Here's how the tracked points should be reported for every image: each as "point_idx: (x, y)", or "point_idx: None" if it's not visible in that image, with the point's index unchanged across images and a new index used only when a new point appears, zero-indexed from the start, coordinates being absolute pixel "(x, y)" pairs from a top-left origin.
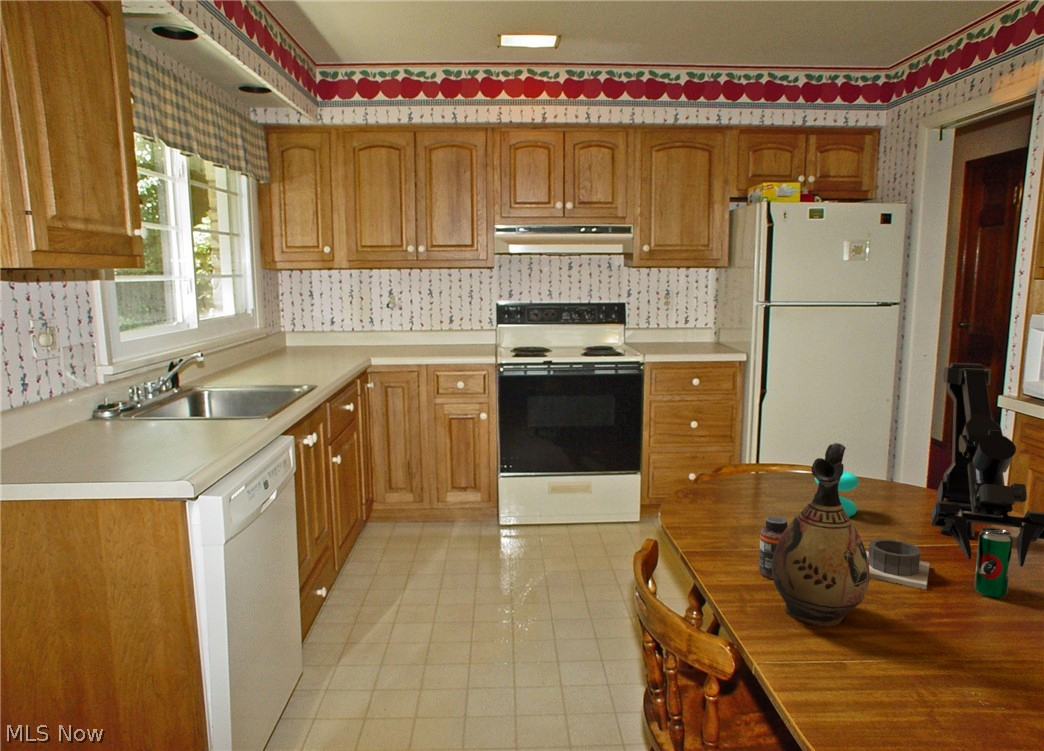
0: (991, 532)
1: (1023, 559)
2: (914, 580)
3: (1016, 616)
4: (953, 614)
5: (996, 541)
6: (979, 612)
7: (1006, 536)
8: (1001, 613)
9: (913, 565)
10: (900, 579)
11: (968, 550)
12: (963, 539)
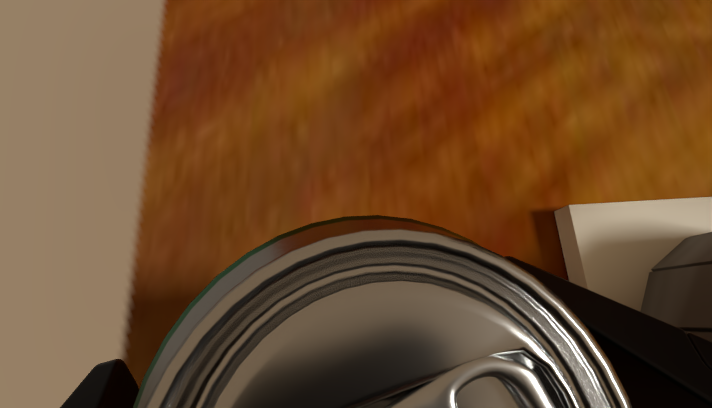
0: (474, 332)
1: (79, 392)
2: (620, 225)
3: (217, 149)
4: (425, 40)
5: (354, 216)
6: (349, 107)
7: (211, 311)
8: (272, 145)
9: (694, 279)
10: (663, 200)
11: (544, 278)
12: (670, 329)
